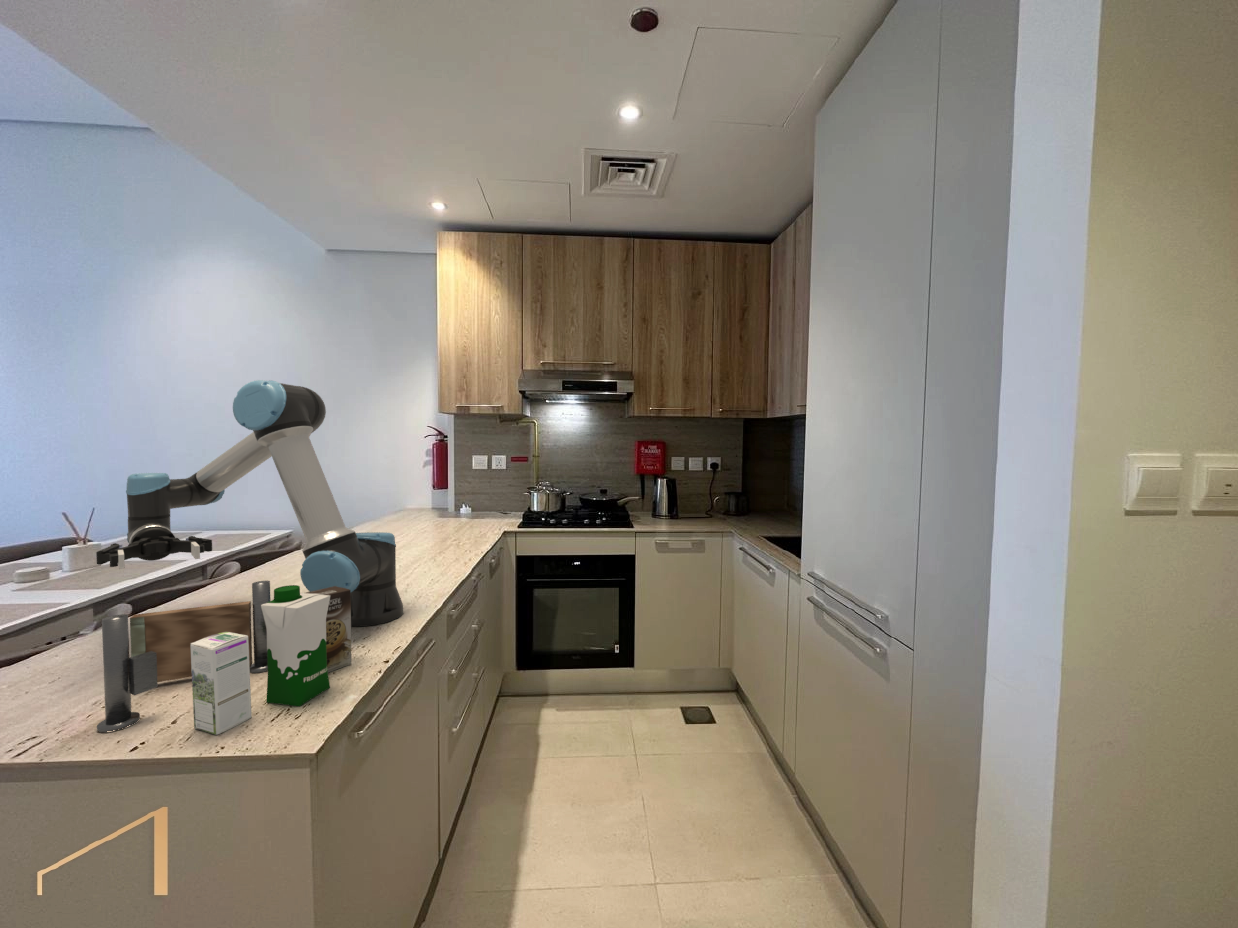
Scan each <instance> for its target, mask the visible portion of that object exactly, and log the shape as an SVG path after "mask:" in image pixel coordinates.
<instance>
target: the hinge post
mask: <svg viewBox="0 0 1238 928" xmlns="http://www.w3.org/2000/svg"><path fill="white" fill-rule="evenodd" d="M251 591H252V592H251V594H252V595H251V596H252V600H251V601H252V629H253V630H252V631H253V634H252V635H253V662H252V665H251V667H250V674H261V673H266V672H268V664H267V629H266V624H265V620H264V616H263V612H262V608H261V605H262V604H266V603H267V602H270V601H271V581H270V580H260V581H259V580H258V581H254V582H253V583H251Z"/></svg>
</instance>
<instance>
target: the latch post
mask: <svg viewBox="0 0 1238 928" xmlns="http://www.w3.org/2000/svg"><path fill="white" fill-rule="evenodd" d="M129 631H130V629H129V614H125V613H124V614H123V613H122V614H115V615H110V616H106V617H104V618H102V619H101V634H102V636H101V637H102V639H101V640H102V657H103V658H102V661H103V664H102V665H103V686H104V687H103V689H104V693H103V694H104V715H105V719H103V720H101V721H100V722H99V723H97V725H96V732H97V731H99V732H107V731H113V730H118V729H122V728H125V727H127V726H129V725H132V724H134V723H135V724H137V723H138V722H139V721H140V720H141V714H140V712H137V711H132V697H131V696H132V695H133V696H137V695H139V694H142V693H146V692H147V691H151V690H153V689H156V688H158V686H159V684H158V682H157V654H156V652H153V651H150V652H147V653H143V654H140V655H137V656H133V657H131V656H130V638H129V637H130V636H129V635H130V634H129V633H130V632H129ZM139 719H140V720H139ZM138 720H139V721H138ZM137 721H138V722H137ZM136 722H137V723H136ZM135 724H134V725H135ZM132 726H133V725H132ZM127 728H128V727H127ZM125 729H126V728H125ZM122 730H123V729H122Z"/></svg>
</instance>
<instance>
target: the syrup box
mask: <svg viewBox="0 0 1238 928" xmlns="http://www.w3.org/2000/svg"><path fill="white" fill-rule="evenodd" d="M190 646H191V669H192V677H191V687H192V688H191V689H192V708H193V709H192V710H193V728H194V729H195V730H199V731H202V732H206V733H208V734H213V735H215V736H216V735H217V736H218V735H220V734H222V733H224V732H226V731H228V730H230V729H232V728H235V727H237V726H238V725H240V724H243V723H244V722H247V721H248V720H250V719H251V718H252V716H253V715H252V695H251V689H252V688H251V673H250V667H249V642H248V636H247V635H241V634H236V633H231V632H222V633H219V634H215V635H212V636H209V637H206V638H203V639H201V640H198V641H196V642H194V643H191V645H190Z"/></svg>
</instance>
